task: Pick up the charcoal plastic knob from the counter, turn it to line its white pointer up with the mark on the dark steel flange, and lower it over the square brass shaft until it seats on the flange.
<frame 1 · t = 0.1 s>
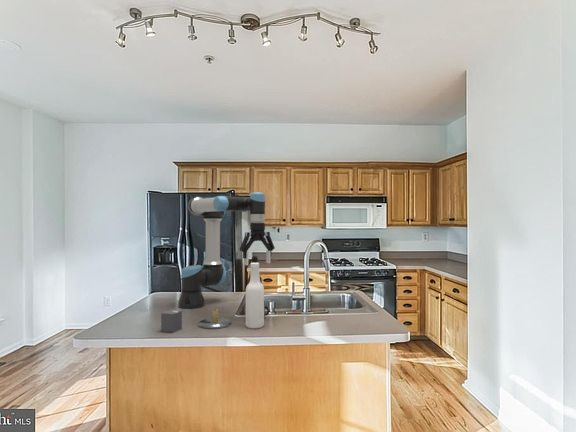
hand: (257, 264, 188), 28 cm above the countertop, fingers open, 13 cm apart
hub: (215, 324, 178), on the countertop
wine bottle: (254, 308, 212), on the countertop
alcohol: (254, 326, 175), on the countertop
mug: (257, 320, 187), on the countertop
knob: (171, 330, 169), on the countertop
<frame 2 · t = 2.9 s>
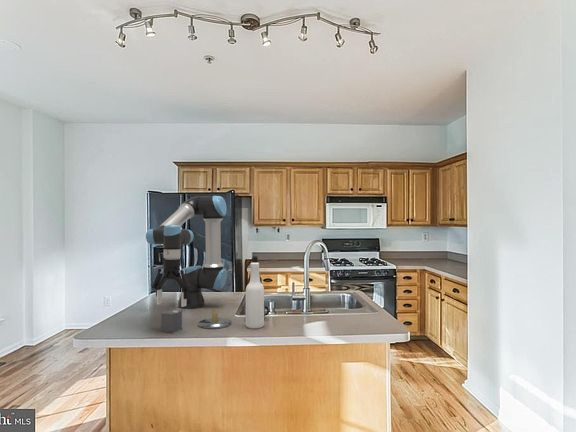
hand: (171, 305, 168), 11 cm above the countertop, fingers open, 13 cm apart
nothing on the countertop moved.
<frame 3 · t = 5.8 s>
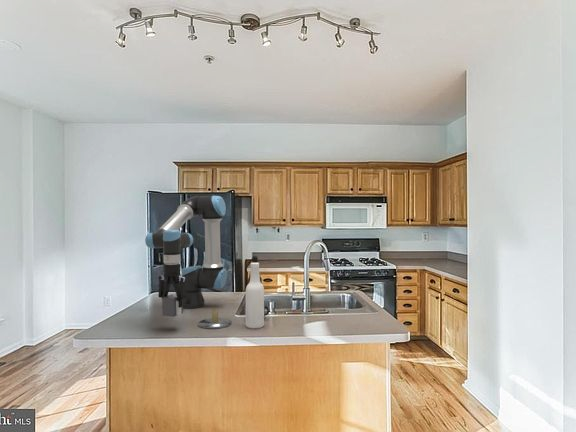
hand: (172, 313, 169), 7 cm above the countertop, fingers closed on knob, 6 cm apart
knob: (172, 314, 169), point 7 cm above the countertop, touching gripper
everything else where it was.
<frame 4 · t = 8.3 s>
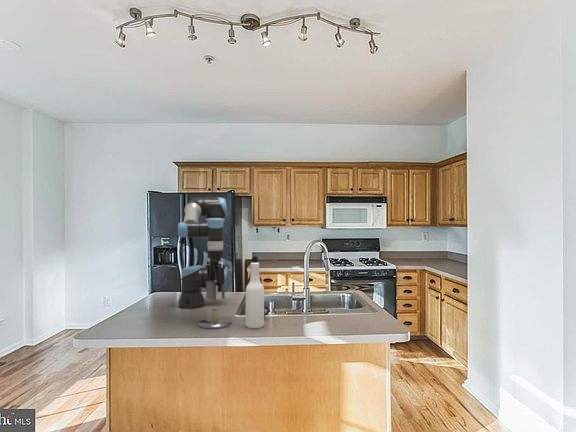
hand: (215, 297, 178), 13 cm above the countertop, fingers closed on knob, 6 cm apart
knob: (215, 298, 178), point 13 cm above the countertop, touching gripper
everything else where it was.
when the fingers open (2 cm above the countertop, at t = 11.2 s): knob stays where it is, resting on hub.
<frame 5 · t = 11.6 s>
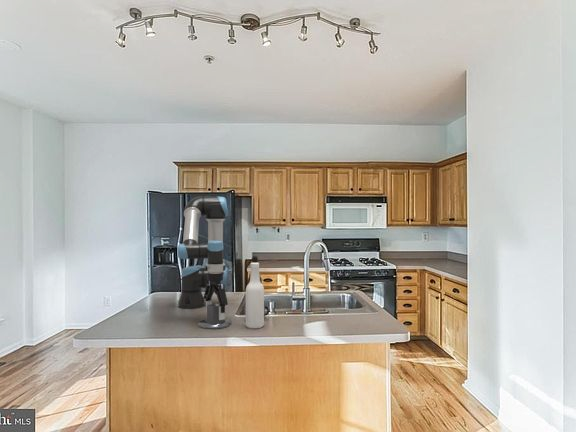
hand: (215, 316, 178), 4 cm above the countertop, fingers open, 13 cm apart
knob: (215, 322, 178), point 1 cm above the countertop, touching hub
everything else where it was.
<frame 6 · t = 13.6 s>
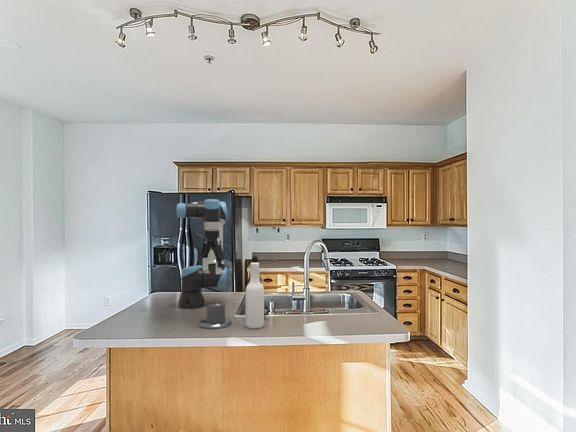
hand: (211, 272, 185), 24 cm above the countertop, fingers open, 13 cm apart
nothing on the countertop moved.
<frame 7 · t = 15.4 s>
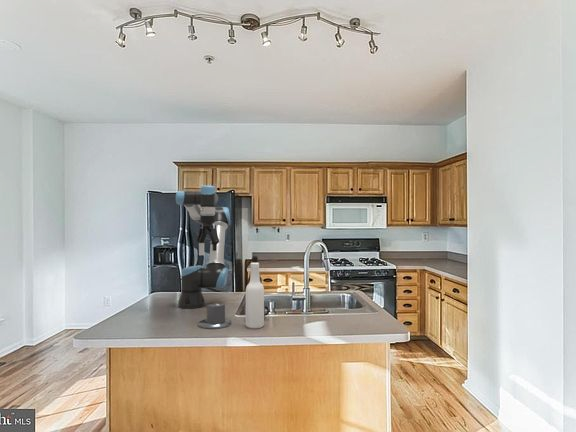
hand: (207, 256, 191), 32 cm above the countertop, fingers open, 13 cm apart
nothing on the countertop moved.
at the end: knob 0.5 cm off-centre on the hub, point 1.1 cm above the hub's base; knob tilted 2°; the gripper is holding nothing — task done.
